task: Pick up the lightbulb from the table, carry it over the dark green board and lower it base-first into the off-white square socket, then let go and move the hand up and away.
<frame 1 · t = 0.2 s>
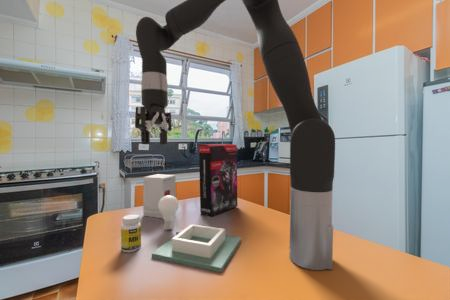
hand: (155, 144, 67), 27 cm above the table, tool pointing down, fingers open, 8 cm apart
supplement bottle: (131, 249, 58), on the table
supplement box: (160, 214, 86), on the table
lightbulb: (168, 230, 70), on the table
graphics card box: (219, 210, 90), on the table
board: (199, 248, 58), on the table
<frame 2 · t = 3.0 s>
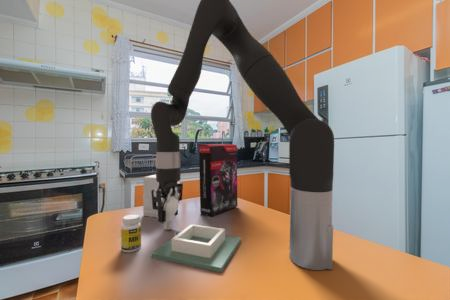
hand: (168, 218, 70), 4 cm above the table, tool pointing down, fingers closed on lightbulb, 6 cm apart
lightbulb: (168, 230, 70), on the table, touching gripper
everything else where it was.
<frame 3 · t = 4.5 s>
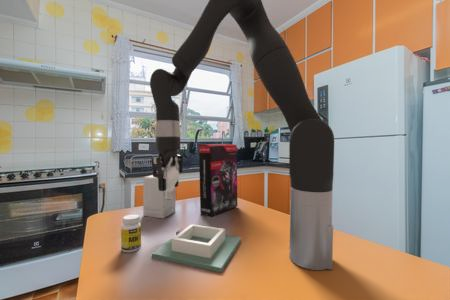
hand: (169, 188, 70), 13 cm above the table, tool pointing down, fingers closed on lightbulb, 6 cm apart
lightbulb: (169, 200, 70), point 9 cm above the table, touching gripper
everything else where it was.
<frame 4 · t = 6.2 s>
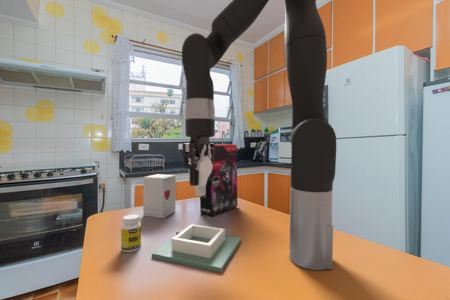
hand: (200, 182, 57), 17 cm above the table, tool pointing down, fingers closed on lightbulb, 6 cm apart
lightbulb: (200, 197, 57), point 14 cm above the table, touching gripper
everything else where it was.
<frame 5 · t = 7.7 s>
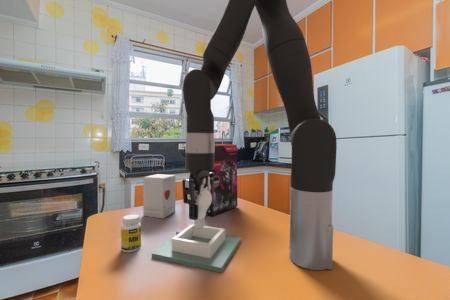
hand: (199, 214, 57), 9 cm above the table, tool pointing down, fingers closed on lightbulb, 6 cm apart
lightbulb: (199, 229, 58), point 5 cm above the table, touching gripper
everything else where it was.
when the fingers open (6 cm above the table, at t = 9.3 s): lightbulb drops 1 cm, resting on board.
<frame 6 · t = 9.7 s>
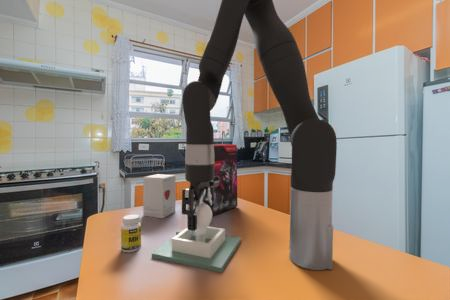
hand: (199, 223, 58), 7 cm above the table, tool pointing down, fingers open, 8 cm apart
lightbulb: (200, 245, 58), point 1 cm above the table, touching board
everything else where it was.
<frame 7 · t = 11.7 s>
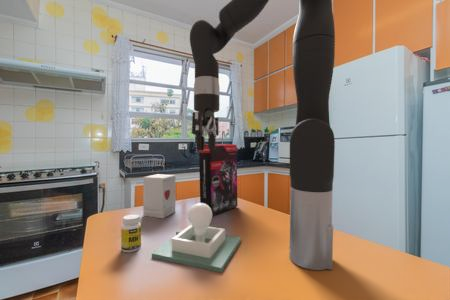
hand: (206, 149, 65), 26 cm above the table, tool pointing down, fingers open, 8 cm apart
nothing on the table moved.
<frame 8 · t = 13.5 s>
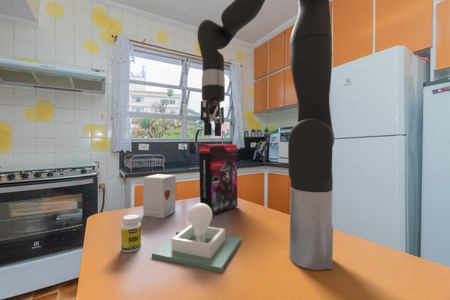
hand: (213, 135, 73), 30 cm above the table, tool pointing down, fingers open, 8 cm apart
nothing on the table moved.
at the end: lightbulb 0.1 cm off-centre on the board, point 0.8 cm above the board's base; lightbulb tilted 0°; the gripper is holding nothing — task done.
